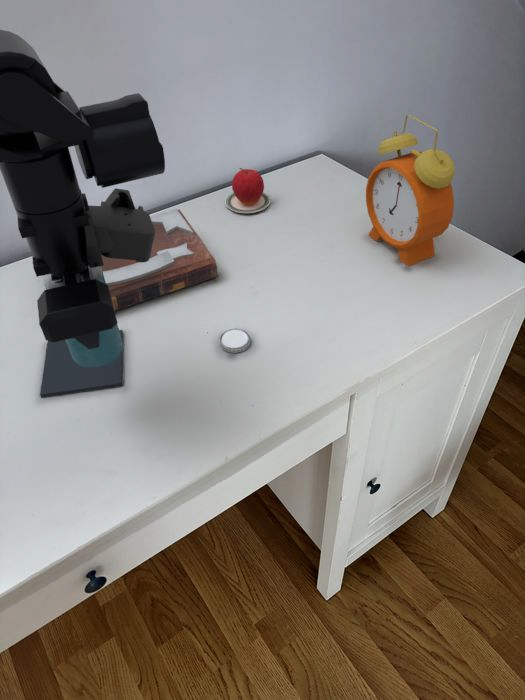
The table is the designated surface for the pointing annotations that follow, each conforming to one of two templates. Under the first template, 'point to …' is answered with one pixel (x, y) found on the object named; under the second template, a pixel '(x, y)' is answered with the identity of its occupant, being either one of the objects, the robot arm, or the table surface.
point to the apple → (247, 193)
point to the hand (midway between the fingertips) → (90, 329)
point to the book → (161, 263)
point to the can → (107, 339)
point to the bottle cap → (234, 340)
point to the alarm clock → (410, 197)
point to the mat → (76, 372)
